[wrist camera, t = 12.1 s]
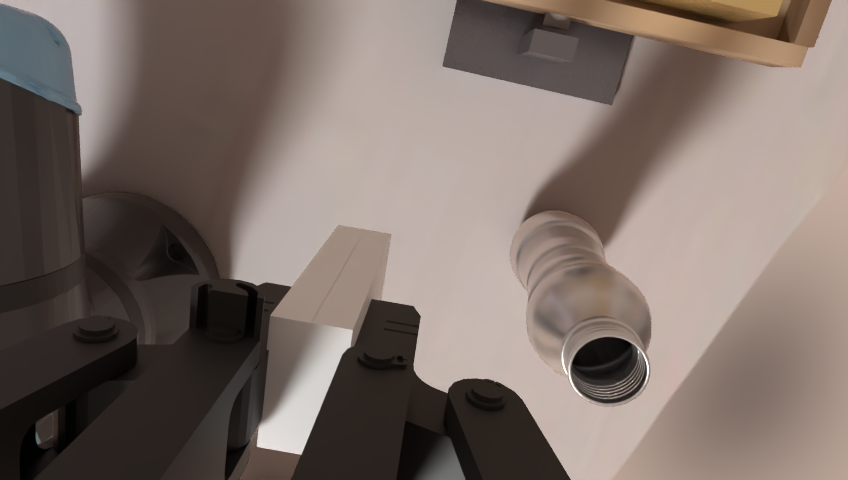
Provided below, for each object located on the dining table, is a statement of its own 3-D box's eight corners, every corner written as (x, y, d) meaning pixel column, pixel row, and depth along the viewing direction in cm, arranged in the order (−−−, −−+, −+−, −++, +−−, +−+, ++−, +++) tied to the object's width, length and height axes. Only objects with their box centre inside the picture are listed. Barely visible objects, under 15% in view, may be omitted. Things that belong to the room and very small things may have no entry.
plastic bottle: (544, 186, 45) (597, 271, 26) (615, 239, 46) (717, 361, 27) (490, 252, 47) (503, 379, 28) (559, 303, 48) (619, 461, 29)
